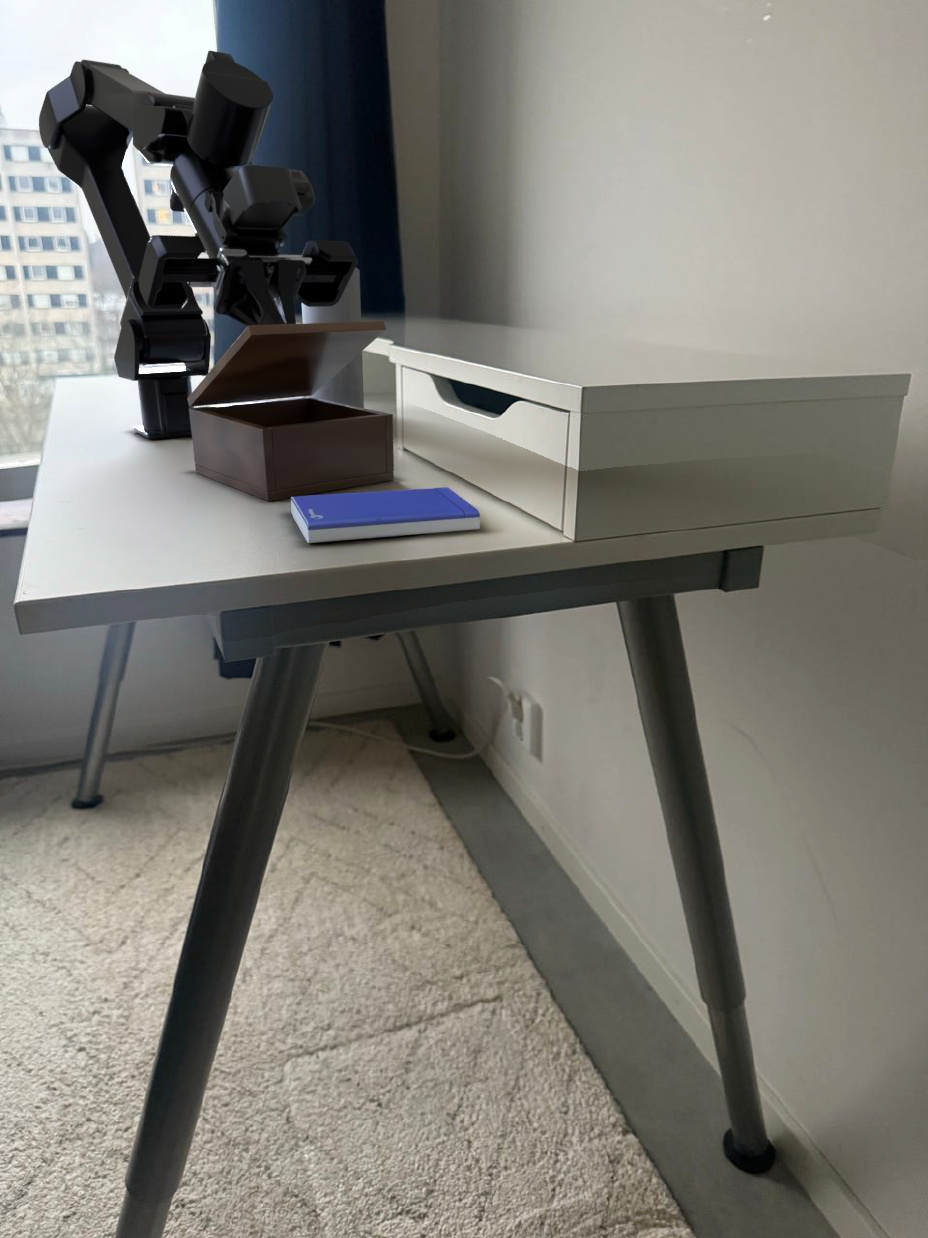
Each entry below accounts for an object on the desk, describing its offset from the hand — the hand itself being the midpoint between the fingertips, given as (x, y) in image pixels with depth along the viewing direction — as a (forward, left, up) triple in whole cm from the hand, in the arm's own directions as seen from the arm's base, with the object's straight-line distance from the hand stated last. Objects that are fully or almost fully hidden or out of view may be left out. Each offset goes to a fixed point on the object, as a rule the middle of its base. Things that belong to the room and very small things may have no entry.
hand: (292, 348), depth 73 cm
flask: (-30, +18, -11) cm, 37 cm away
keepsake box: (-1, 0, -11) cm, 11 cm away
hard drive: (+17, -1, -11) cm, 20 cm away
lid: (-1, 0, -2) cm, 2 cm away
